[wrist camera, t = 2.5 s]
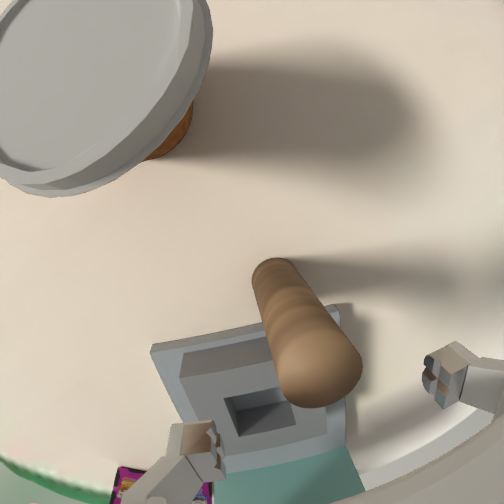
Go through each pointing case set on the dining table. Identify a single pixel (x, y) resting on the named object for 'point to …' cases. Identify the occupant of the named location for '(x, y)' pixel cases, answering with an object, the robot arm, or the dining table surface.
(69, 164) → the disposable coffee cup
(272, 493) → the socket station
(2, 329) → the dining table surface
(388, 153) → the dining table surface
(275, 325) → the walnut dowel
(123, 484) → the candy bar box
